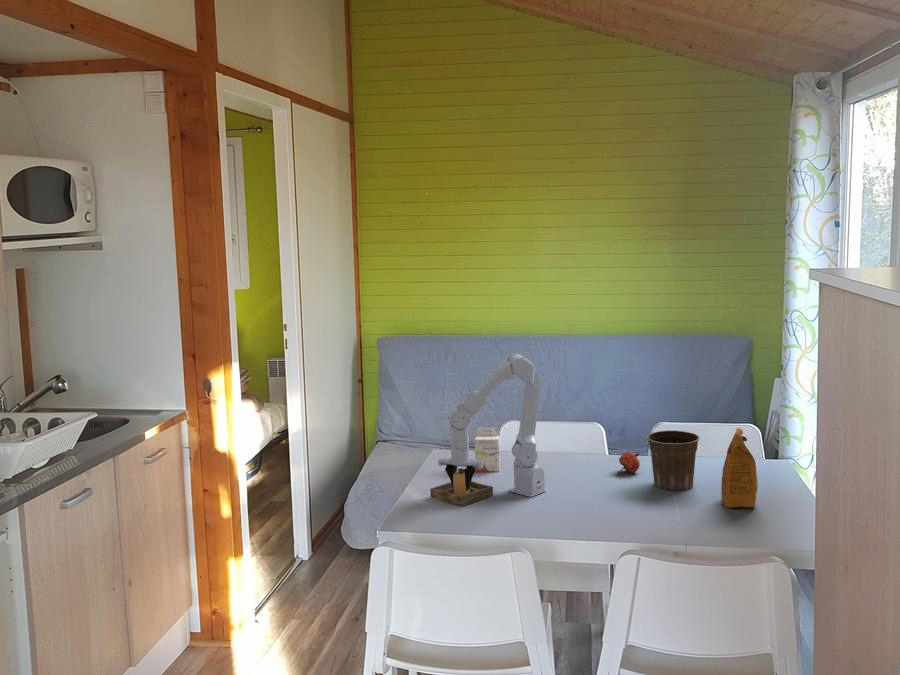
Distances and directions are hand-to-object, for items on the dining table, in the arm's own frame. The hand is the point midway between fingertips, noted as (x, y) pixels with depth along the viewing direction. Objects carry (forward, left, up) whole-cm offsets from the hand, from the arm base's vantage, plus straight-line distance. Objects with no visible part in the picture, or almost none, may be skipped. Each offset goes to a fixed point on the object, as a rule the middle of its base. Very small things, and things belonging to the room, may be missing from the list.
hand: (461, 488), depth 270 cm
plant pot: (-45, -51, -3) cm, 68 cm away
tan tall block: (0, 0, -2) cm, 2 cm away
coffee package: (-69, -48, -3) cm, 84 cm away
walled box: (0, 0, -3) cm, 3 cm away
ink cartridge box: (+14, -27, -3) cm, 31 cm away
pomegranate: (-26, -54, -3) cm, 60 cm away
